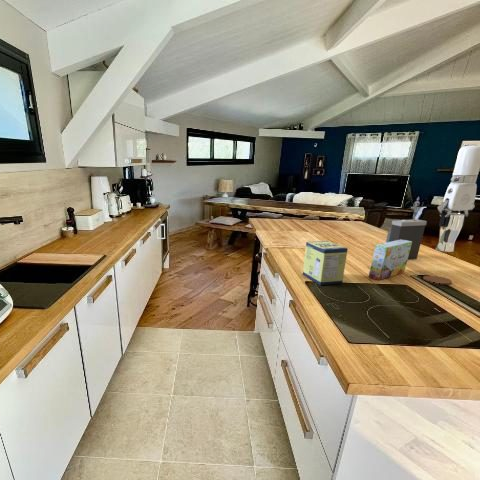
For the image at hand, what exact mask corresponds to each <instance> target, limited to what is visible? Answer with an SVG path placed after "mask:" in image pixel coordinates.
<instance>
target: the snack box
mask: <svg viewBox="0 0 480 480" xmlns="http://www.w3.org/2000/svg"><path fill="white" fill-rule="evenodd" d="M411 245H412V241H407V240H396V241H392V242H387V243H386V242H383V243H380V244H379V243H378V244H375V246H374V251H373V256H372V260H371V265H370V270H369V273H368V278H371V279H374V280H377V281H381V280H385V279H387V278H391V277H394V276H397V275H401V274H404V273H405V271H406V267H407V263H408V260H409V259H408V256H409V252H410V249H411Z"/></svg>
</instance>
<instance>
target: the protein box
mask: <svg viewBox="0 0 480 480" xmlns="http://www.w3.org/2000/svg"><path fill="white" fill-rule="evenodd" d="M347 255H348V247H345V246H342V245H339V244H337V243H334V242H331V241H329V240H321V241H306V242H305V250H304V259H303V260H304V261H303V266H302V267H303V269H302V276H304V277H305V278H307V279H309V280H310V281H312V282H313V283H315V284H317V285H318V286H330V285H342V284H343V281H344V274H345V269H346V268H345V267H346V263H347V261H346V260H347Z"/></svg>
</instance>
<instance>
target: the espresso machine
mask: <svg viewBox="0 0 480 480" xmlns="http://www.w3.org/2000/svg"><path fill="white" fill-rule="evenodd" d="M427 222H428V221H427V220H423V219H417V218H416V219H415V218H413V219H397V220H395V219H394V220H392V221H391V229H390V230H388V231H387V235H386V239H385V243H387V242H392V241H396V240H407V241H412V245H411V249H410V252H409V256H408V260H417V259H418V256H419V252H420V249H421V244H422V240H423V235H424V232H425V228H426V226H427V224H428V223H427Z"/></svg>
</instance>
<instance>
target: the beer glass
mask: <svg viewBox="0 0 480 480" xmlns="http://www.w3.org/2000/svg"><path fill="white" fill-rule="evenodd" d="M464 215H465V214H460V213H459V212H451V213H450V215H449V216H448V217H449V221H448V225H447V227H441V226H439V234H438V235H439V236H438V242H437V245H436V246H435V251H438V252H443V253H452V252H453V253H454V251H455V244H456V243H455V242H456V240H457V238H458V236H459V234H460V232H461V230H462V228H463V226H462V225H463V220H464Z"/></svg>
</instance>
